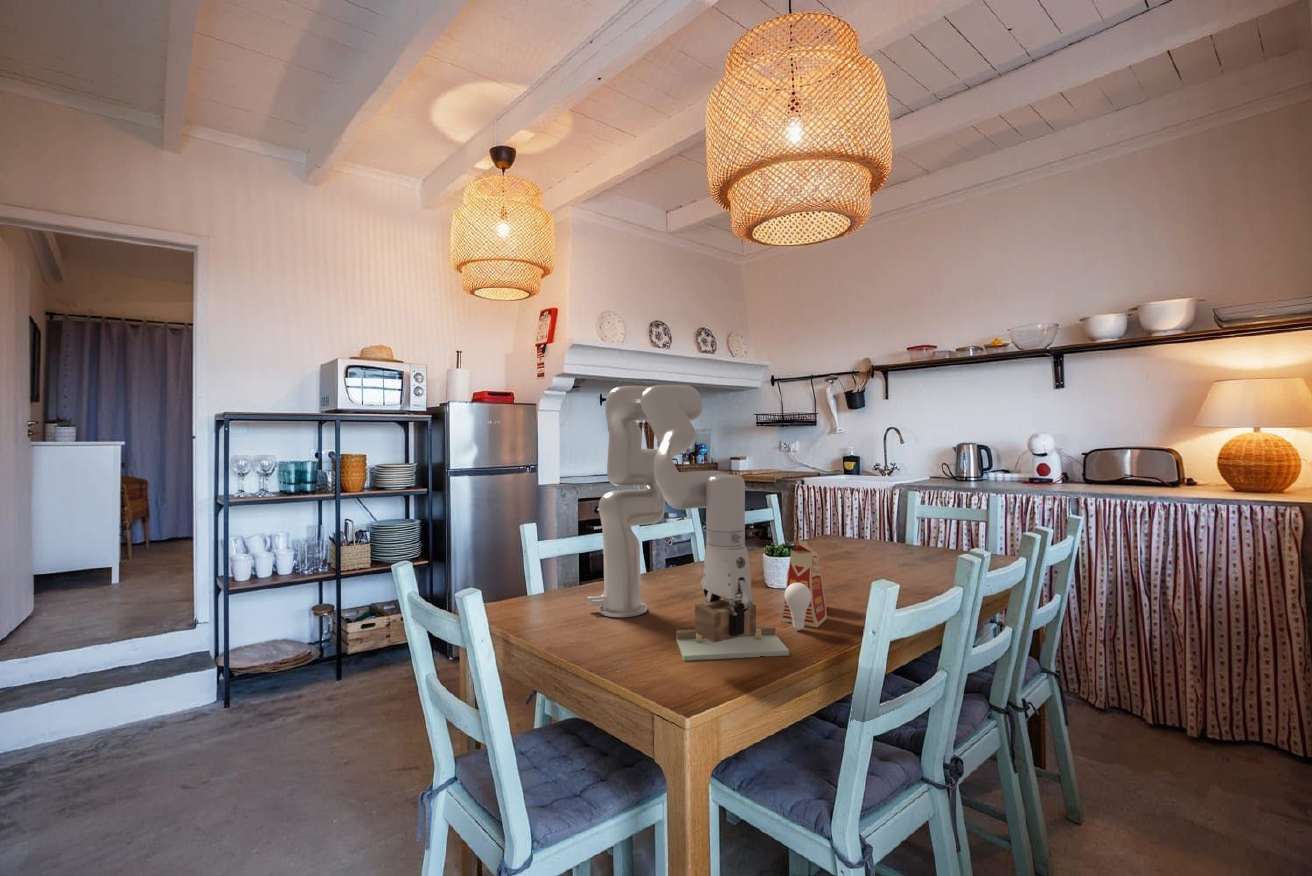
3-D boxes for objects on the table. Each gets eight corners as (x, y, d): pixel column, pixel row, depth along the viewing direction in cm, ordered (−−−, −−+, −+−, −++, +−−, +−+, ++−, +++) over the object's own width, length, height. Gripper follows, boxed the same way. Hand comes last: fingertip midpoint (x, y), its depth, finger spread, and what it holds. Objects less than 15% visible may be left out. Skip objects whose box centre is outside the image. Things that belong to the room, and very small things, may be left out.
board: (683, 660, 127) (683, 646, 127) (676, 641, 139) (676, 627, 139) (789, 655, 129) (789, 640, 129) (773, 636, 141) (773, 623, 141)
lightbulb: (794, 624, 149) (793, 578, 149) (817, 630, 145) (816, 582, 145) (779, 630, 145) (779, 583, 145) (802, 636, 141) (801, 587, 141)
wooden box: (714, 642, 117) (714, 613, 117) (695, 632, 123) (695, 604, 122) (755, 633, 122) (755, 605, 122) (735, 623, 128) (735, 597, 127)
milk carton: (816, 627, 147) (815, 542, 147) (779, 621, 152) (778, 539, 152) (828, 617, 155) (827, 536, 155) (792, 612, 160) (791, 534, 159)
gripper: (769, 543, 116) (769, 639, 117) (715, 529, 131) (715, 614, 132) (737, 548, 112) (737, 646, 113) (685, 533, 127) (685, 620, 128)
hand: (725, 628), depth 122 cm, fingers closed on wooden box, 6 cm apart
